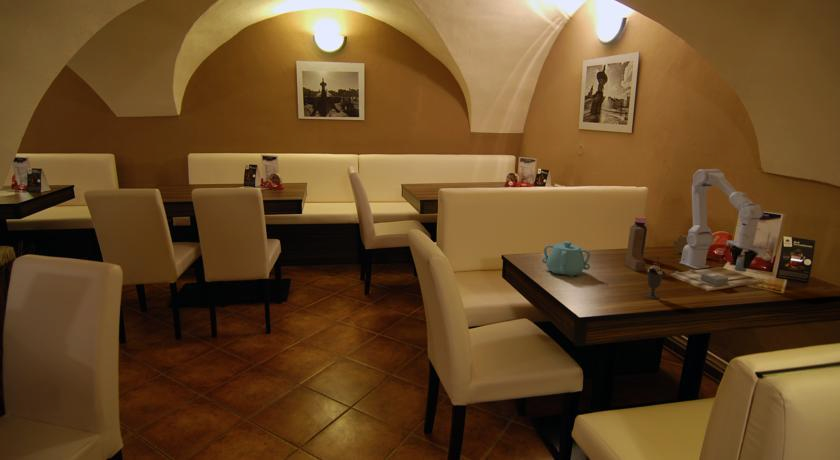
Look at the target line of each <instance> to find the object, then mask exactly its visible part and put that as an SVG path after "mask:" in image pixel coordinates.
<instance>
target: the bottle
mask: <svg viewBox="0 0 840 460" xmlns="http://www.w3.org/2000/svg"><path fill="white" fill-rule="evenodd" d="M646 222H647V216H643V215H642V216H641V215H635V217H634V224H633V225H631V227H641V228H643V229H644V237H643V244H642V258H643V259H644V252H645V246H646V239H647V231H648V228H647V226H646Z"/></svg>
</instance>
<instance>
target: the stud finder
mask: <svg viewBox="0 0 840 460" xmlns="http://www.w3.org/2000/svg"><path fill="white" fill-rule="evenodd" d="M701 281H704V282H706V283H709V284H712V285H714V286H715V287H718V286H725V285H727V282H728V278H726V277H724V276H721V275H718V274H715V273H705V274H702V275H701Z"/></svg>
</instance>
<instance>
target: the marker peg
mask: <svg viewBox="0 0 840 460" xmlns="http://www.w3.org/2000/svg"><path fill="white" fill-rule="evenodd" d="M744 261H745V254H741V255H738V256H737V261H736V265H734V266H735V267H734V270H735V271H736V272H740V273H741V272H743V273H745V272H747V269H748V268H744Z"/></svg>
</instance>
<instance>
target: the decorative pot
mask: <svg viewBox="0 0 840 460" xmlns="http://www.w3.org/2000/svg"><path fill="white" fill-rule="evenodd" d="M548 248H552V249H551V250H550V252H549V253H548V252H547V249H548ZM584 253H585V254H586V255H587V256H586V258H585V257H584ZM543 255H544V256H545V257H542V259H541V262H542V263H543V264H544V265H545V264H546V267H547V269H548V271H550V272H552V274H553V273H555V274H554V275H560V274H561V275H567V276H568V277H571V278H572V277H575V276H578V275H580V274H581V273H582V272H583V270H585V271H588V270H589V269H591V265H590V264H589V263H588V262H589V260H590V257H591V252H589V251H588V250H587V249H585V248H581V247H580V246H579V245H577V244H572V242H571V241H569V240H568V241H567V240H566V241H563V243H561V242H558V243H556V244H554V245H553V244H548V245H546V246H544V249H543Z"/></svg>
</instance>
